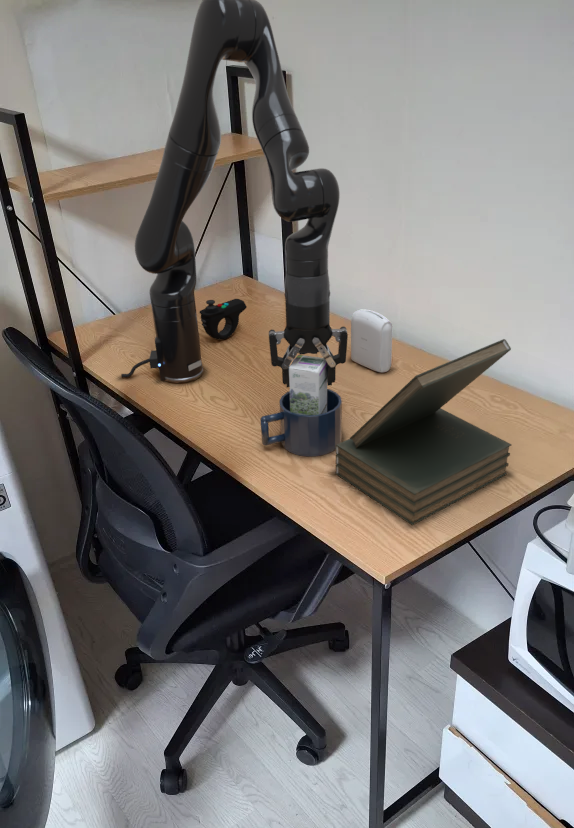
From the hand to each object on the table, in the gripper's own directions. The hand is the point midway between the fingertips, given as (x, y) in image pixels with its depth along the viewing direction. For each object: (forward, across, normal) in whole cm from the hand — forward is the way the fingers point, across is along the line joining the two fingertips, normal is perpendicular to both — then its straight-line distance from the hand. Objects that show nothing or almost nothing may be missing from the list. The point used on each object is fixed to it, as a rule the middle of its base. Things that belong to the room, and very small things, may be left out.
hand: (308, 384), depth 142 cm
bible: (+12, -19, +13) cm, 26 cm away
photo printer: (+12, -15, -31) cm, 37 cm away
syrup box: (+10, 0, 0) cm, 10 cm away
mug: (+12, +2, +1) cm, 12 cm away
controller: (+12, +18, -50) cm, 54 cm away
